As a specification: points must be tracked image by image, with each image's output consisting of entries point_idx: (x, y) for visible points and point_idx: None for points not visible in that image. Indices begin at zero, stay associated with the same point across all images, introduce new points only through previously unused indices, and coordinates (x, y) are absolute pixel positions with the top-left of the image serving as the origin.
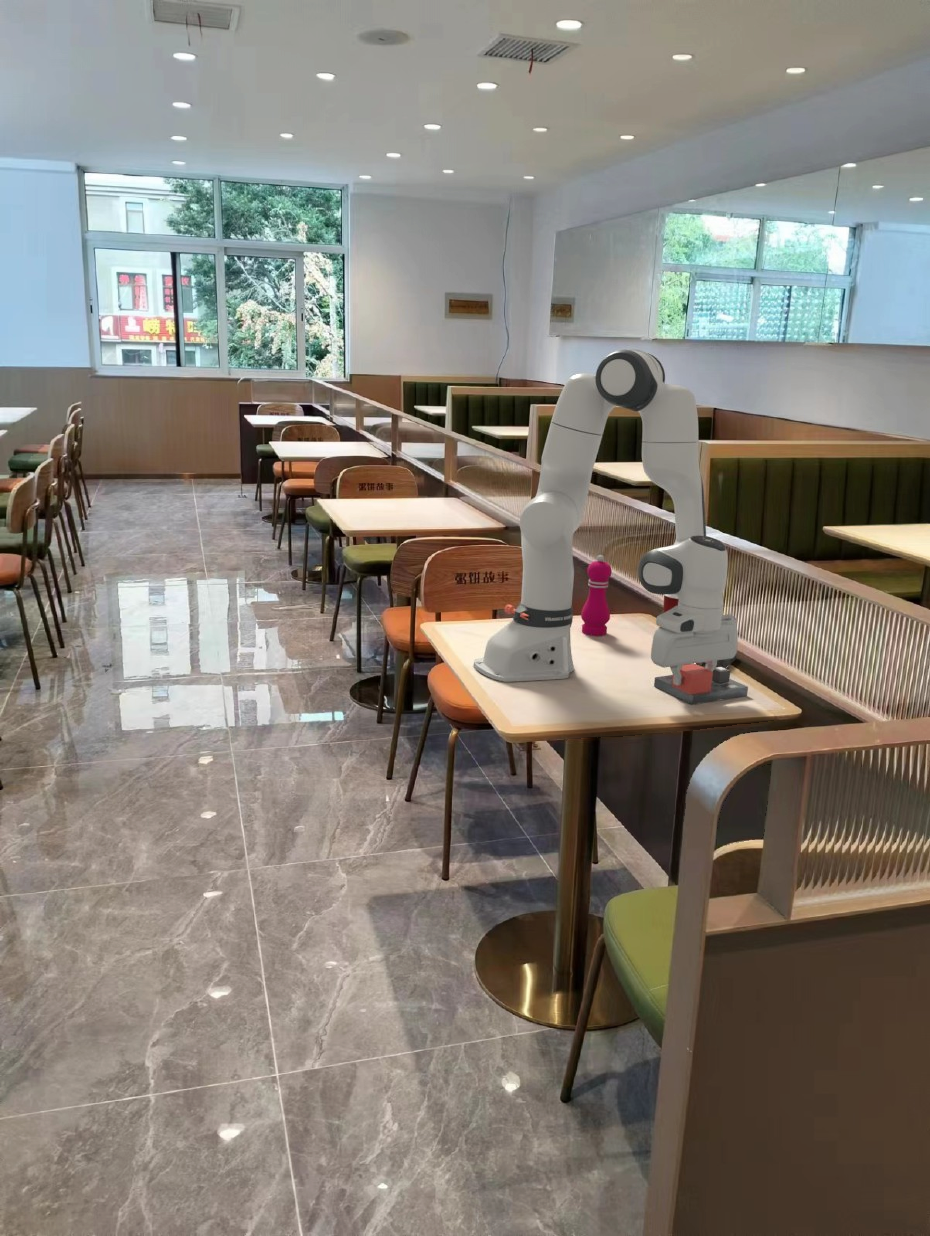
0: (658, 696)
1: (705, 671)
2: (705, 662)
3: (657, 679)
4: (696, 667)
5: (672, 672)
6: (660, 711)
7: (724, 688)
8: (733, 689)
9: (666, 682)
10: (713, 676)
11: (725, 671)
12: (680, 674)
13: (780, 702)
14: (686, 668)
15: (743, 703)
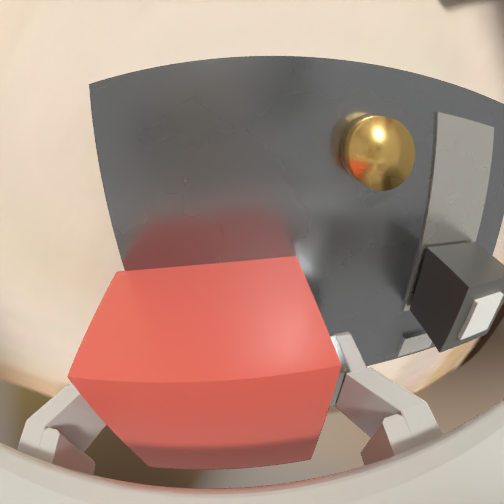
0: (69, 243)
1: (268, 460)
2: (380, 425)
3: (94, 114)
4: (270, 426)
5: (55, 400)
6: (47, 358)
7: (376, 352)
8: (399, 356)
9: (111, 207)
10: (434, 284)
11: (465, 341)
12: (95, 432)
13: (450, 360)
14: (166, 427)
15: (371, 367)
